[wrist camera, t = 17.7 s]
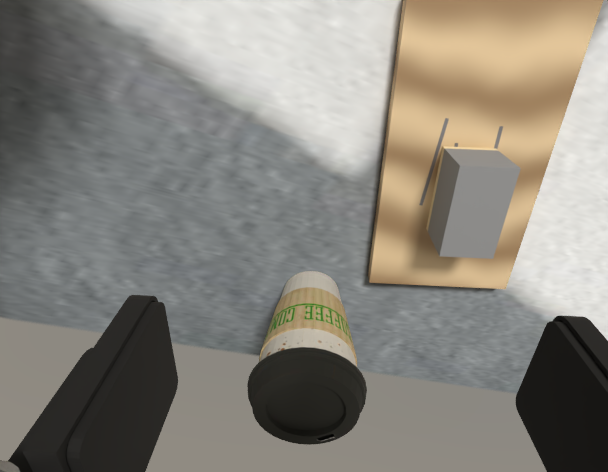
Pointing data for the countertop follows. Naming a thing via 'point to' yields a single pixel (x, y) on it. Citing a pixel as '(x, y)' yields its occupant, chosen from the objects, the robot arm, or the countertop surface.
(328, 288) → the coffee cup
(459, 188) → the block
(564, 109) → the board
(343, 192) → the countertop surface
